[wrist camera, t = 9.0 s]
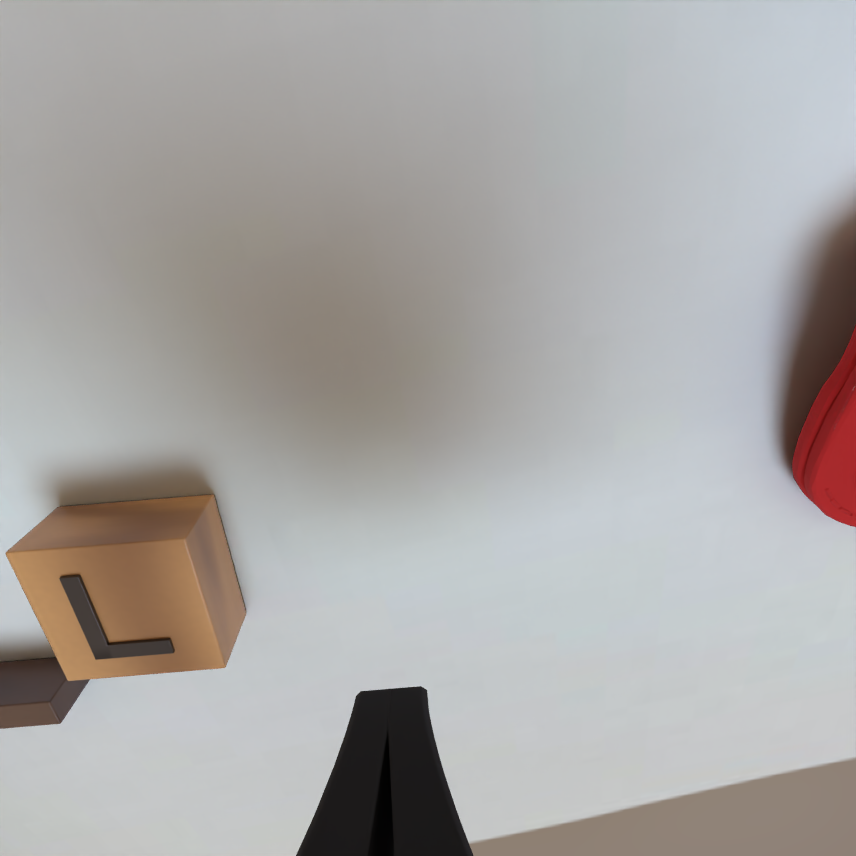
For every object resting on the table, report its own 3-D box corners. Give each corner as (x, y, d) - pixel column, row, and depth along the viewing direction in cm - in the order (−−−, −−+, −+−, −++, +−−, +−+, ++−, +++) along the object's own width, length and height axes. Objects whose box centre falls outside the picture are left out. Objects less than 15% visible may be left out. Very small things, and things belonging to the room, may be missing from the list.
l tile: (107, 624, 17) (65, 684, 15) (57, 506, 15) (0, 555, 13) (247, 613, 17) (224, 671, 15) (214, 493, 15) (183, 540, 13)
